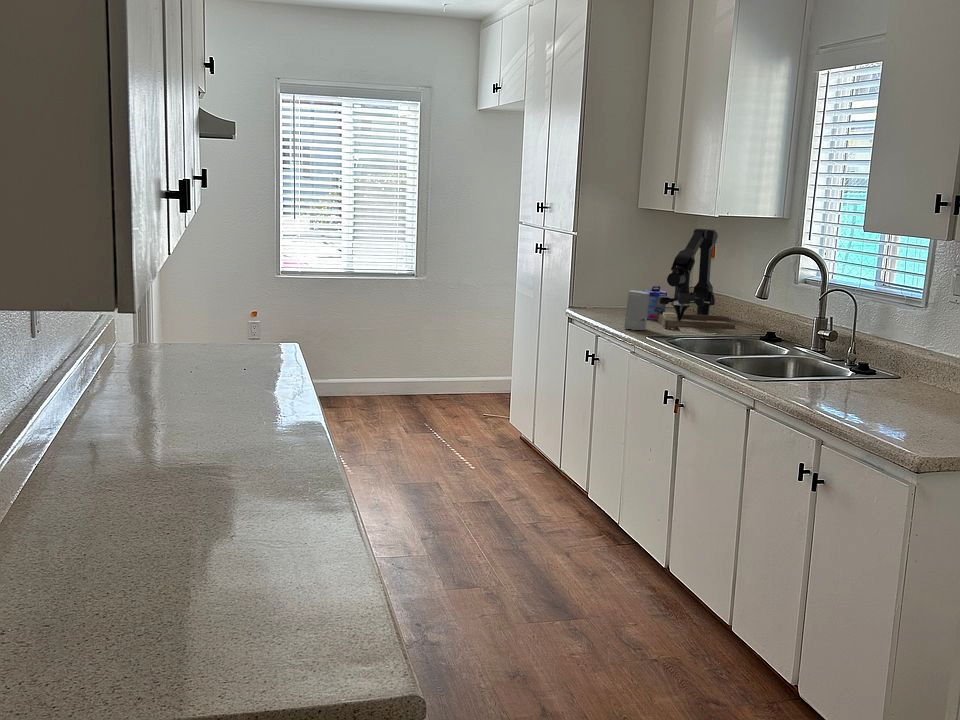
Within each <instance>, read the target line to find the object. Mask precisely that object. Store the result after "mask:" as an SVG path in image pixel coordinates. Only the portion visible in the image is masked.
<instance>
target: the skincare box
mask: <svg viewBox="0 0 960 720" xmlns="http://www.w3.org/2000/svg"><path fill="white" fill-rule="evenodd" d="M649 296H650V292H643V290H633V289H630V290H629V291H628V295H627V303H626V311H625V319H624V325H623V326H624V327H623V328H624V330H626V329H631V330H630V331H635V330H644V329H645V330H646V326H647V320H648V319H647V312H648V304H649ZM645 330H644V331H645Z"/></svg>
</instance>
